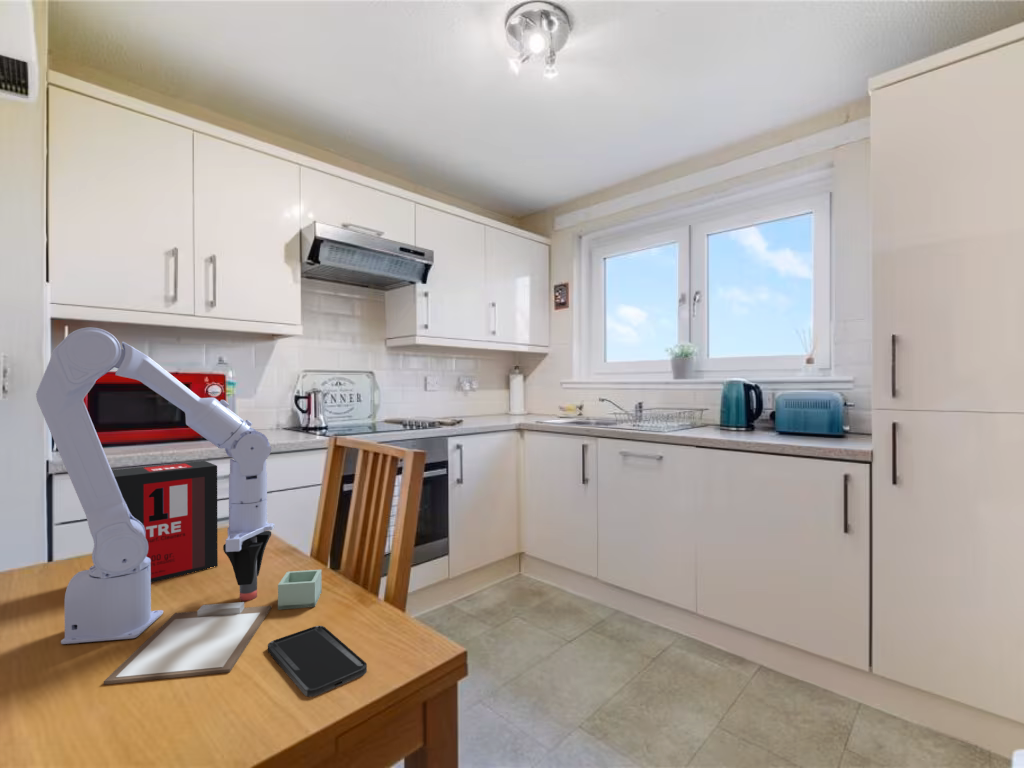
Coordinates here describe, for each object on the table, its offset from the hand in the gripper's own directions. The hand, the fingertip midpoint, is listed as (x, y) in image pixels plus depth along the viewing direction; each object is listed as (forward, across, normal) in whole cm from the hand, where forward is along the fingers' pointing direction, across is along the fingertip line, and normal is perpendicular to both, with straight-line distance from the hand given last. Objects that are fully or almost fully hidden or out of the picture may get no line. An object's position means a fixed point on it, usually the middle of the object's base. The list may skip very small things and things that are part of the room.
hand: (248, 580), depth 84 cm
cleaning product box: (+3, +15, +20) cm, 25 cm away
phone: (+3, -22, -15) cm, 27 cm away
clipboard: (+3, -14, +2) cm, 14 cm away
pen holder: (+3, -3, -9) cm, 10 cm away
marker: (+3, 0, 0) cm, 3 cm away
